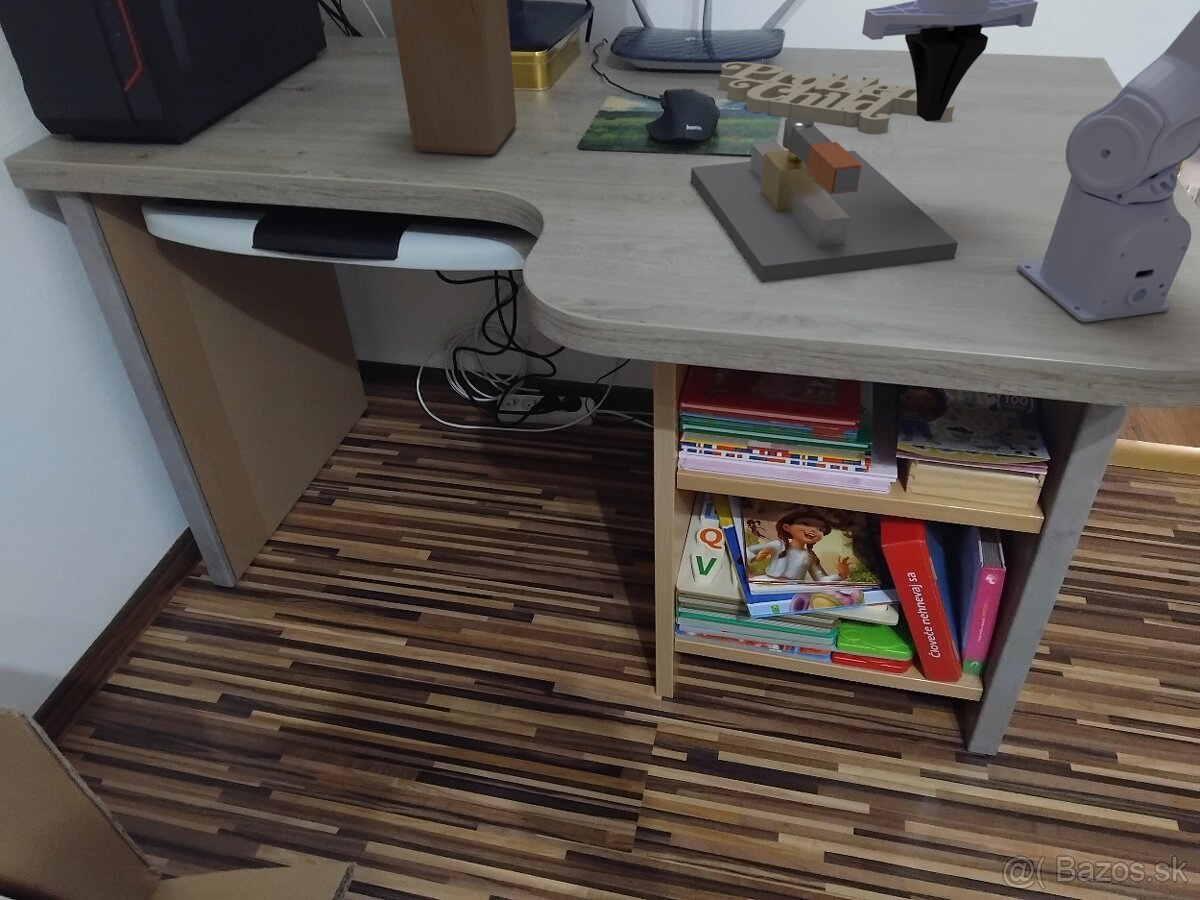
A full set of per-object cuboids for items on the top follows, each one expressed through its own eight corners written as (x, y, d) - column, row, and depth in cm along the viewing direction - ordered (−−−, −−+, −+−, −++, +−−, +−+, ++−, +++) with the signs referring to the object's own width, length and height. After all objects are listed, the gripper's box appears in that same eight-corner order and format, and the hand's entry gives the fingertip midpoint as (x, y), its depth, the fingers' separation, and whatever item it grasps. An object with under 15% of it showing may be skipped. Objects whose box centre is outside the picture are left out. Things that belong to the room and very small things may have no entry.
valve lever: (778, 142, 82) (781, 117, 81) (804, 139, 83) (807, 114, 81) (829, 195, 73) (833, 168, 72) (859, 192, 73) (863, 165, 72)
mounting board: (954, 258, 78) (958, 242, 77) (761, 281, 76) (762, 266, 75) (851, 164, 95) (854, 150, 94) (690, 181, 93) (691, 167, 92)
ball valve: (854, 243, 78) (864, 189, 74) (807, 249, 77) (815, 194, 74) (782, 165, 91) (787, 117, 88) (741, 170, 91) (745, 121, 88)
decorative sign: (685, 93, 109) (729, 59, 119) (685, 110, 111) (728, 75, 121) (940, 128, 98) (964, 88, 108) (936, 147, 99) (960, 105, 109)
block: (495, 158, 99) (475, -43, 86) (411, 154, 100) (378, -45, 87) (519, 127, 106) (504, -63, 93) (440, 123, 108) (414, -64, 95)
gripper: (1020, -70, 74) (979, 95, 83) (859, -59, 72) (834, 109, 81) (1070, -54, 69) (1021, 121, 78) (897, -41, 67) (867, 136, 76)
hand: (928, 117), depth 79 cm, fingers closed
